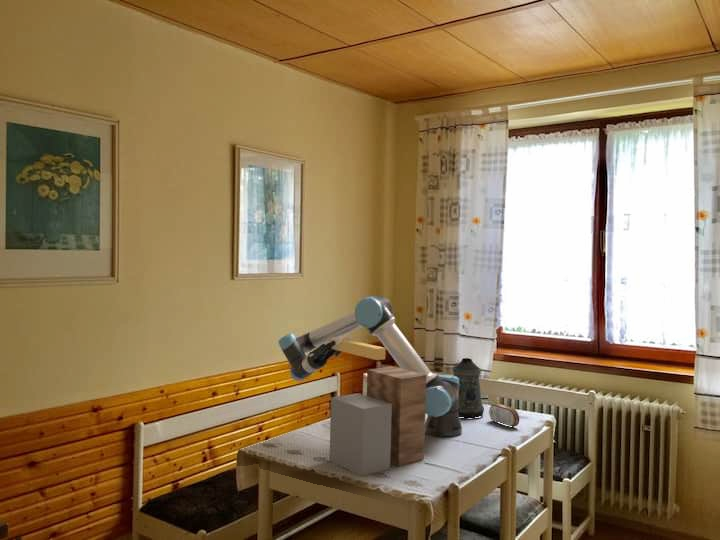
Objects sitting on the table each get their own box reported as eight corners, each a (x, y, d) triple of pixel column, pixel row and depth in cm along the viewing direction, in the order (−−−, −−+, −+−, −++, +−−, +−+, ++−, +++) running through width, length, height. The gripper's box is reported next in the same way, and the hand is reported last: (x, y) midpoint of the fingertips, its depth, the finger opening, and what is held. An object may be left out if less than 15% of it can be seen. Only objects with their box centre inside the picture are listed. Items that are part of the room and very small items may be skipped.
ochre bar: (328, 348, 240) (329, 337, 240) (337, 347, 242) (337, 337, 242) (376, 360, 217) (376, 348, 217) (385, 359, 220) (385, 347, 219)
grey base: (329, 460, 214) (331, 397, 214) (356, 454, 222) (358, 393, 221) (362, 476, 200) (364, 408, 200) (389, 468, 208) (391, 403, 207)
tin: (519, 429, 260) (520, 409, 259) (514, 430, 258) (515, 410, 257) (492, 420, 272) (493, 401, 272) (487, 421, 270) (488, 402, 270)
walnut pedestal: (365, 452, 225) (367, 369, 223) (389, 446, 232) (392, 366, 231) (398, 466, 211) (401, 378, 210) (423, 459, 218) (426, 374, 217)
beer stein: (459, 420, 269) (461, 363, 268) (436, 409, 287) (438, 356, 286) (491, 417, 276) (493, 361, 275) (466, 407, 294) (468, 354, 293)
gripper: (334, 367, 255) (366, 346, 238) (299, 371, 244) (330, 349, 228) (329, 350, 257) (360, 328, 241) (294, 353, 247) (324, 330, 231)
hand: (345, 338), depth 235 cm, fingers closed on ochre bar, 4 cm apart
